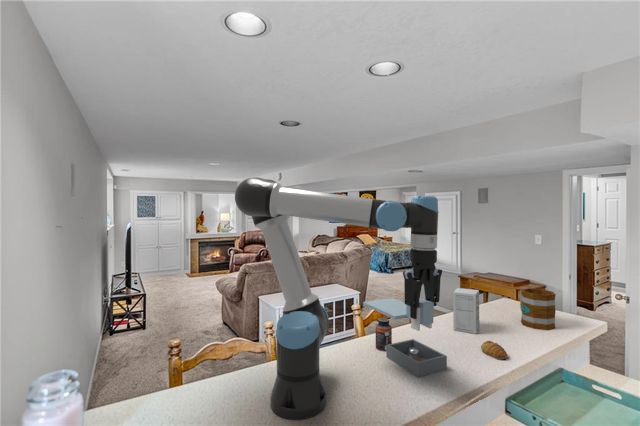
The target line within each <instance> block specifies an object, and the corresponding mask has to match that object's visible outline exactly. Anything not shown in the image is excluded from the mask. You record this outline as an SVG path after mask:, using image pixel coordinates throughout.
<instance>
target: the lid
mask: <svg viewBox="0 0 640 426" xmlns="http://www.w3.org/2000/svg"><path fill="white" fill-rule="evenodd" d="M362 306H365V307H367V308H369V309H371V310H373V311H374V312H378V313H380V314H382V315H385V317H388V318H389V319H393V320H395V321H396V320H402V319H408V320H410V321H411V317H410V306H408V305H406V304H405V301H401V300H398V299H396V298H393V297H391V298H383V299H375V300H368V301H363V302H362ZM418 307H419V308H420V326H423V325H427V324H432V325H433V324H434V315H435V314H434V310H435V308H434V307H435V306H434V303H433V302H430V301H427V300H426V299H424V298H421V297H420V299H419V304H418Z"/></svg>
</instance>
